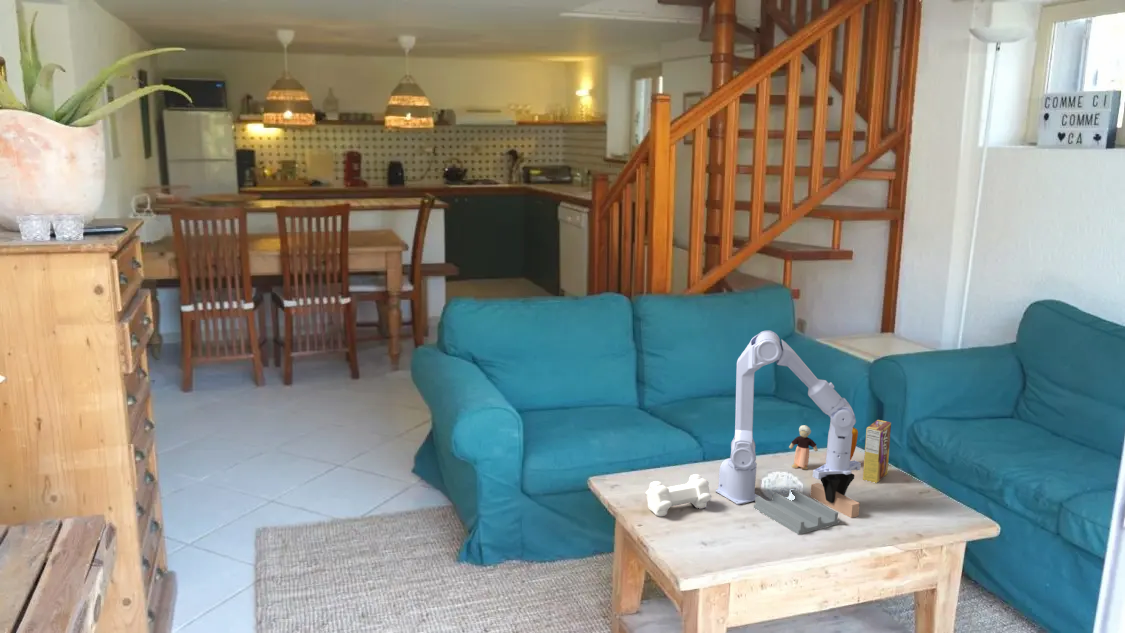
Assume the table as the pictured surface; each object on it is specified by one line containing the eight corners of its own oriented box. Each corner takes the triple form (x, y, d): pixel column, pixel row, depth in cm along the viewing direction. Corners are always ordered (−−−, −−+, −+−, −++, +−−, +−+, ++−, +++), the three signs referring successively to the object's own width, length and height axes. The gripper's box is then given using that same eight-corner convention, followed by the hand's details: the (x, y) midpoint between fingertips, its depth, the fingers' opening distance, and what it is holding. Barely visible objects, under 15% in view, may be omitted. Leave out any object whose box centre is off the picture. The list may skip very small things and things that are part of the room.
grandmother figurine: (788, 469, 242) (791, 426, 239) (787, 464, 245) (790, 422, 243) (816, 471, 240) (820, 428, 238) (815, 466, 244) (818, 424, 241)
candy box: (872, 470, 242) (877, 419, 239) (887, 474, 239) (893, 422, 236) (861, 479, 235) (866, 427, 232) (876, 483, 232) (882, 430, 229)
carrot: (855, 468, 243) (860, 418, 239) (837, 467, 244) (842, 417, 240) (853, 462, 247) (858, 413, 244) (835, 460, 248) (840, 411, 245)
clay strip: (810, 496, 223) (811, 484, 223) (817, 495, 225) (818, 482, 224) (851, 518, 211) (852, 505, 211) (858, 516, 213) (859, 503, 212)
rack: (753, 508, 216) (754, 497, 215) (792, 498, 222) (793, 488, 221) (798, 534, 202) (799, 522, 201) (838, 523, 208) (839, 512, 207)
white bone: (660, 523, 208) (663, 493, 206) (642, 505, 216) (645, 477, 213) (711, 512, 215) (715, 483, 212) (692, 496, 222) (695, 468, 220)
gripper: (829, 459, 208) (824, 511, 211) (871, 450, 215) (866, 500, 218) (808, 450, 214) (804, 500, 217) (850, 441, 221) (845, 490, 224)
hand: (834, 500), depth 218 cm, fingers closed on clay strip, 2 cm apart
